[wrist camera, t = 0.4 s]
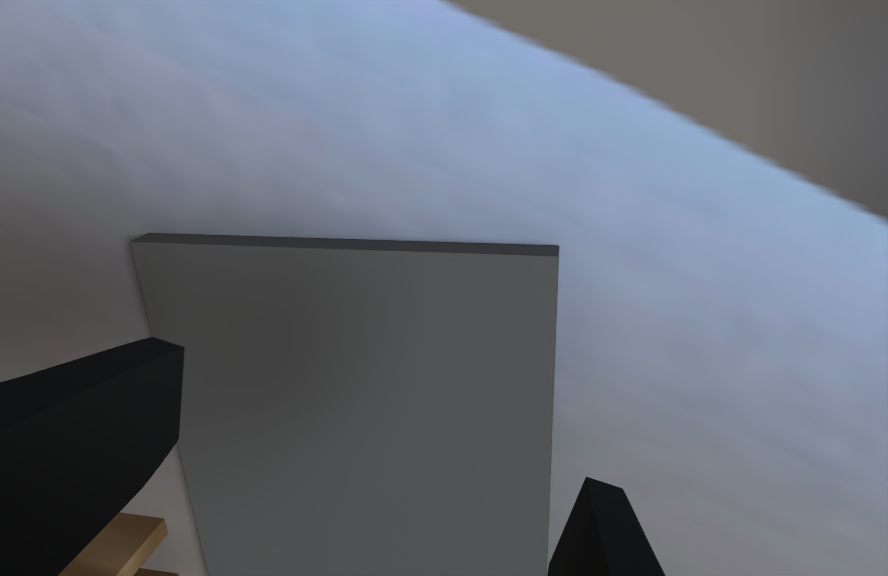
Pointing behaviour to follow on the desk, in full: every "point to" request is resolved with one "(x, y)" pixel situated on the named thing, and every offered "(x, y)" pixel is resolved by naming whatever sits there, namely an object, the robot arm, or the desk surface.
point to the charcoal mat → (361, 401)
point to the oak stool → (120, 548)
